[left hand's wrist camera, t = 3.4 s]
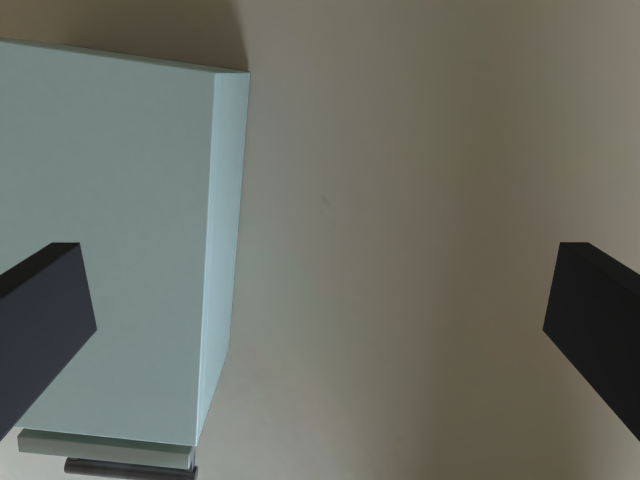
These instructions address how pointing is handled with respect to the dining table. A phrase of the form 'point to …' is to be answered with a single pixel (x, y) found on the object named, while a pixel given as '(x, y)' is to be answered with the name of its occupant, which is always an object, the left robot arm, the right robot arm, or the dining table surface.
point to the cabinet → (128, 225)
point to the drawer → (113, 455)
